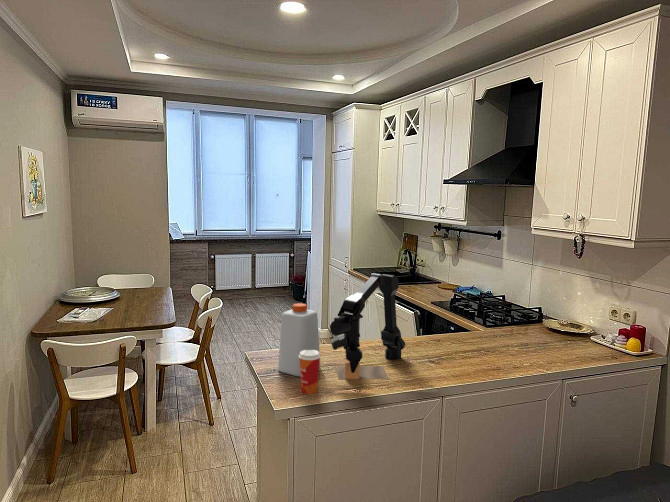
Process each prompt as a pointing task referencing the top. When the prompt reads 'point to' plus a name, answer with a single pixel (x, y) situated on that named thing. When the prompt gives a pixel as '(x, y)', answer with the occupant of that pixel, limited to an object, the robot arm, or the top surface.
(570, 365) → the top surface
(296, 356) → the plastic bottle
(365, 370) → the walnut board
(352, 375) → the square block
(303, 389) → the coffee cup
